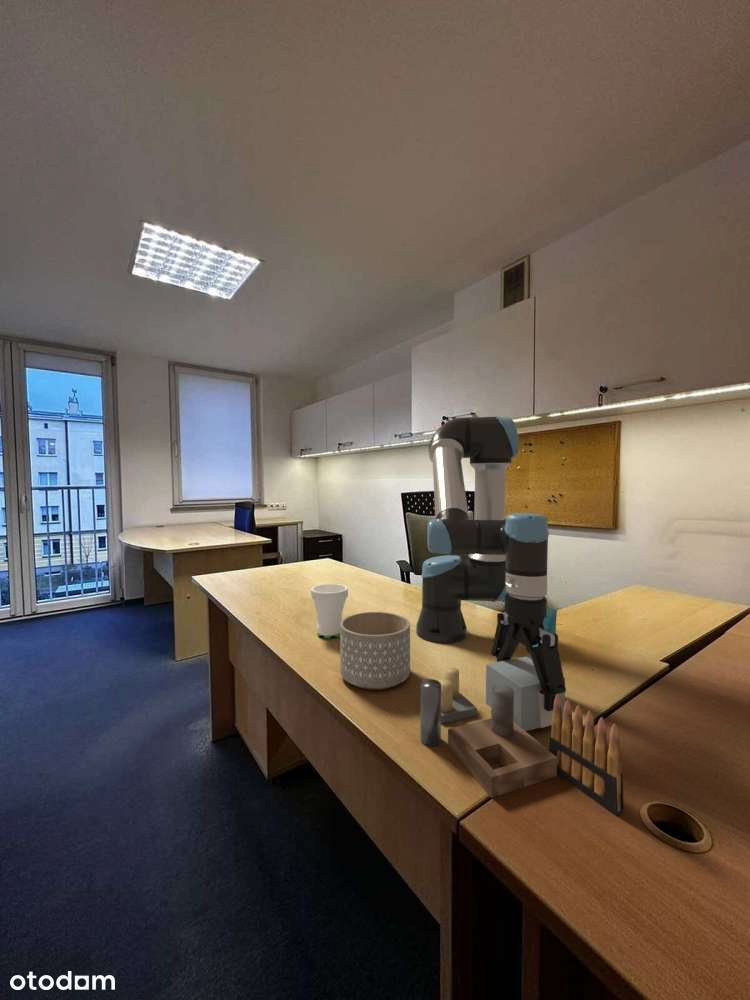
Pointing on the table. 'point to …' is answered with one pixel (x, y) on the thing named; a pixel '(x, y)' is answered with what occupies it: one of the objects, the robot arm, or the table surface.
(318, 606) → the cup
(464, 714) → the board
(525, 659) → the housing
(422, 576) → the robot arm
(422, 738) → the peg
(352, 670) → the planter
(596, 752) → the ammunition clip
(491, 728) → the socket board
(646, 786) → the table surface
